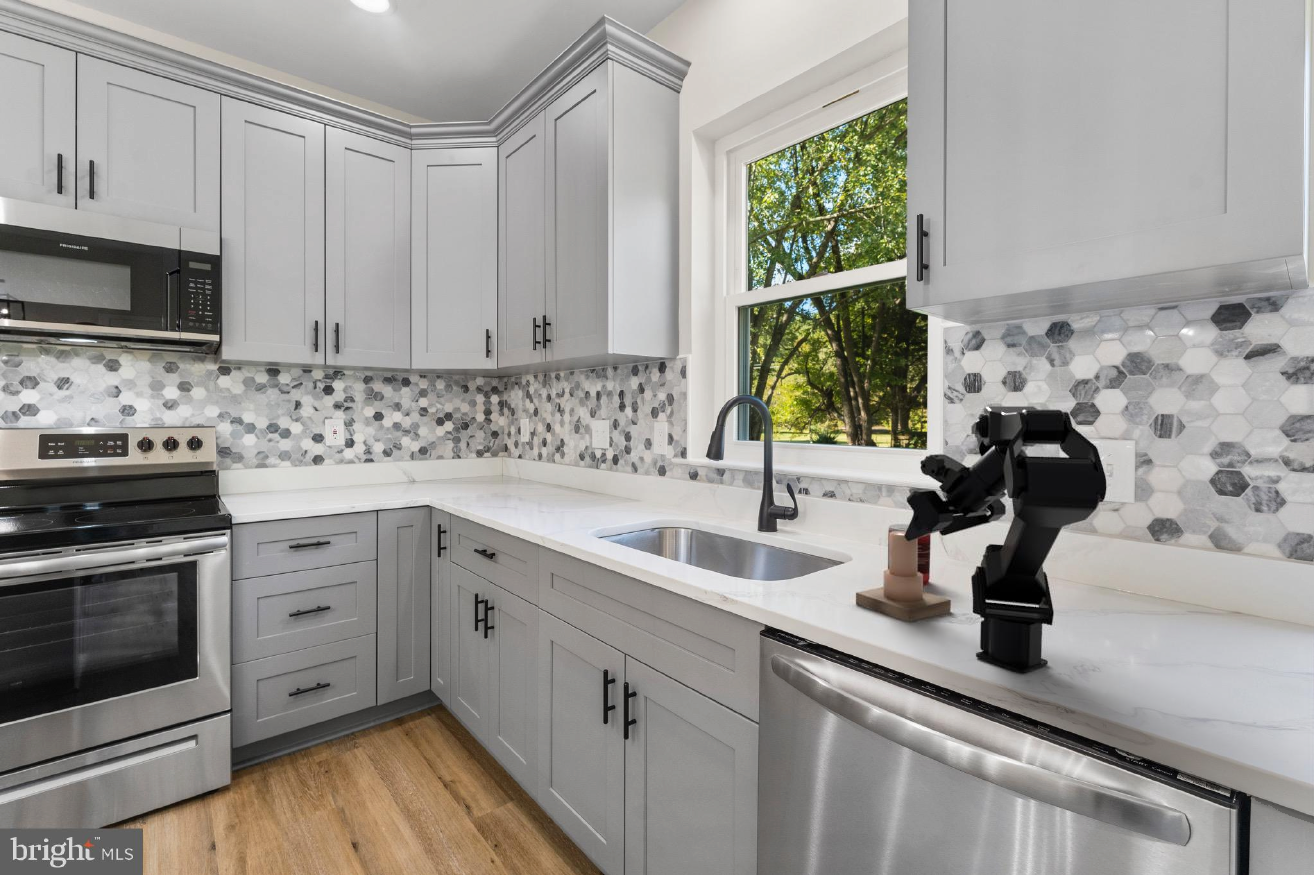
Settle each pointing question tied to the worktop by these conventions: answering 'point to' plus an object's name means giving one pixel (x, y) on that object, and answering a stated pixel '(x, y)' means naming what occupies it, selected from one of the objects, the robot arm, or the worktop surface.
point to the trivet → (903, 605)
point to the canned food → (922, 552)
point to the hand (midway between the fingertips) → (924, 536)
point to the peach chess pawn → (902, 570)
